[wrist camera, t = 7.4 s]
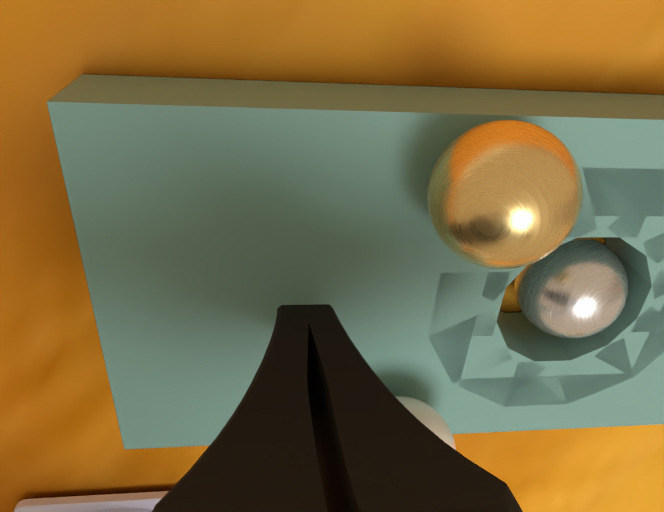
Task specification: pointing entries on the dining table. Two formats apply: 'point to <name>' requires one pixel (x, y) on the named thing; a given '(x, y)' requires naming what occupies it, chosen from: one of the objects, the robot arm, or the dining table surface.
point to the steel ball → (573, 289)
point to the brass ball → (505, 194)
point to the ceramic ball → (429, 418)
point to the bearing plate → (344, 247)
